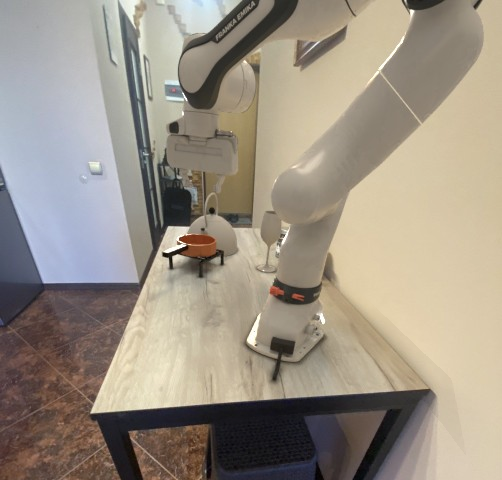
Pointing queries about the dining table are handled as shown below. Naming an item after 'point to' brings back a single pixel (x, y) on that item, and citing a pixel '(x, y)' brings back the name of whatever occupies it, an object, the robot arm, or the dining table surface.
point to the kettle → (216, 229)
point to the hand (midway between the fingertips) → (202, 190)
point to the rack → (206, 259)
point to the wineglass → (269, 235)
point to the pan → (193, 246)
